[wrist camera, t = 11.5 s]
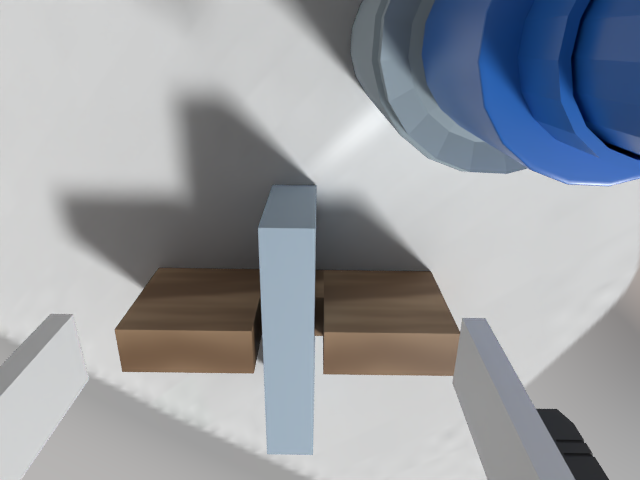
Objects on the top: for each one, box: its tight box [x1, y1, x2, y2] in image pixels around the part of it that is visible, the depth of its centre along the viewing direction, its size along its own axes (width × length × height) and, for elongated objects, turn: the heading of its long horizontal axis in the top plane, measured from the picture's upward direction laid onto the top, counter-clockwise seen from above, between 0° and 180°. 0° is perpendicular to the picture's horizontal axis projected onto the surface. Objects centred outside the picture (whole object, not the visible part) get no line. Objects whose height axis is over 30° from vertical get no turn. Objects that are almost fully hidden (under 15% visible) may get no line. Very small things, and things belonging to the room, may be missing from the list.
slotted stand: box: [115, 268, 460, 376], centre depth 31 cm, size 3×20×8 cm, turn 89°
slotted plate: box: [258, 185, 317, 455], centre depth 31 cm, size 16×3×8 cm, turn 179°
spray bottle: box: [350, 0, 640, 186], centre depth 17 cm, size 9×9×25 cm
